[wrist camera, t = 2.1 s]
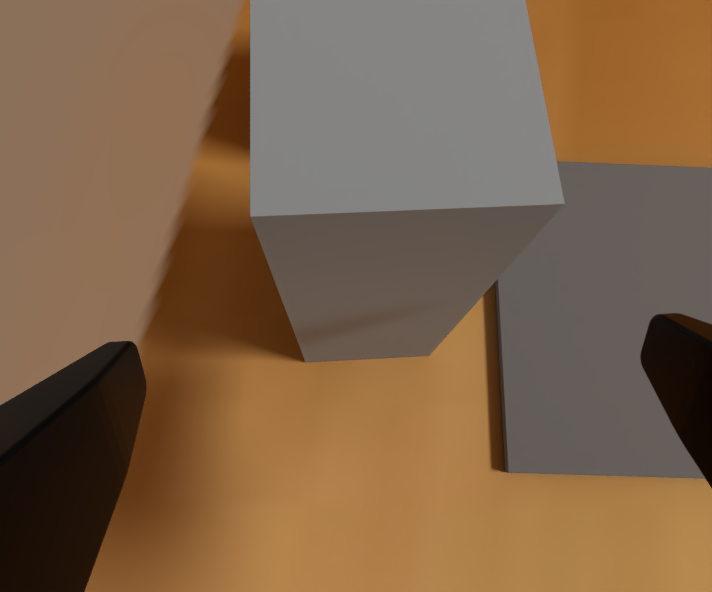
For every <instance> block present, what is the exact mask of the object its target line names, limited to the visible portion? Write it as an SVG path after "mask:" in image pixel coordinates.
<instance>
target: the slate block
mask: <svg viewBox="0 0 712 592" xmlns="http://www.w3.org/2000/svg"><path fill="white" fill-rule="evenodd" d="M564 204H565V203H564V197H563V192H562V187H561V182H560V177H559V172H558V166H557V161H556V156H555V151H554V146H553V141H552V135H551V130H550V125H549V120H548V115H547V110H546V105H545V99H544V94H543V89H542V84H541V79H540V74H539V68H538V63H537V58H536V53H535V48H534V43H533V37H532V32H531V27H530V22H529V17H528V12H527V6H526V1H525V0H250V218H251V220H252V223H253V226H254V228H255V231H256V234H257V236H258V239H259V241H260V244H261V247H262V249H263V252H264V255H265V257H266V260H267V263H268V265H269V268H270V270H271V273H272V276H273V278H274V281H275V284H276V286H277V289H278V291H279V294H280V297H281V299H282V302H283V305H284V307H285V310H286V312H287V315H288V318H289V320H290V323H291V326H292V328H293V331H294V333H295V336H296V339H297V341H298V344H299V347H300V349H301V352H302V354H303V357H304V360H305V362H321V361H340V360H359V359H378V358H397V357H416V356H429V355H430V354H431V353H432V352H433V351H434V350H435V349H436V347H437V346H438V345H439V344H440V343H441V342H442V341H443V340H444V338H445V337H446V336H447V335H448V334H449V333H450V332H451V331H452V330H453V328H454V327H455V326H456V325H457V324H458V323H459V322H460V321H461V319H462V318H463V317H464V316H465V315H466V314H467V313H468V312H469V311H470V309H471V308H472V307H473V306H474V305H475V304H476V303H477V302H478V300H479V299H480V298H481V297H482V296H483V295H484V294H485V293H486V291H487V290H488V289H489V288H490V287H491V286H492V285H493V284H494V283H495V281H496V280H497V279H498V278H499V277H500V276H501V275H502V274H503V272H504V271H505V270H506V269H507V268H508V267H509V266H510V265H511V264H512V262H513V261H514V260H515V259H516V258H517V257H518V256H519V255H520V253H521V252H522V251H523V250H524V249H525V248H526V247H527V246H528V244H529V243H530V242H531V241H532V240H533V239H534V238H535V237H536V236H537V234H538V233H539V232H540V231H541V230H542V229H543V228H544V227H545V225H546V224H547V223H548V222H549V221H550V220H551V219H552V218H553V217H554V215H555V214H556V213H557V212H558V211H559V210H560V209H561V208H562V206H563V205H564Z"/></svg>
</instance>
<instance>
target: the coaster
mask: <svg viewBox="0 0 712 592" xmlns="http://www.w3.org/2000/svg"><path fill="white" fill-rule="evenodd" d="M557 166H558V172H559V177H560V182H561V187H562V192H563V197H564V203H565V204H564V205H563V206H562V208H561V209H560V210H559V211H558V212H557V213H556V214H555V215H554V217H553V218H552V219H551V220H550V221H549V222H548V223H547V224H546V225H545V227H544V228H543V229H542V230H541V231H540V232H539V233H538V234H537V236H536V237H535V238H534V239H533V240H532V241H531V242H530V243H529V244H528V246H527V247H526V248H525V249H524V250H523V251H522V252H521V253H520V255H519V256H518V257H517V258H516V259H515V260H514V261H513V262H512V264H511V265H510V266H509V267H508V268H507V269H506V270H505V271H504V272H503V274H502V275H501V276H500V277H499V278H498V279H497V280H496V281H495V291H496V310H497V329H498V348H499V367H500V386H501V405H502V424H503V443H504V462H505V472H508V473H539V474H573V475H606V476H640V477H673V478H705V477H704V476H703V474H702V473H701V471H700V469H699V468H698V466H697V465H696V463H695V462H694V460H693V459H692V457H691V456H690V454H689V453H688V451H687V450H686V448H685V446H684V445H683V443H682V442H681V440H680V438H679V436H678V435H677V433H676V431H675V429H674V427H673V426H672V424H671V422H670V420H669V418H668V416H667V414H666V412H665V410H664V408H663V406H662V404H661V402H660V400H659V398H658V397H657V395H656V393H655V391H654V389H653V387H652V385H651V383H650V381H649V379H648V377H647V375H646V373H645V371H644V369H643V367H642V364H641V359H640V354H641V349H642V346H643V343H644V339H645V336H646V332H647V329H648V325H649V322H650V320H651V319H652V317H653V316H655V315H657V314H666V313H680V314H684V315H686V316H689V317H692V318H695V319H698V320H701V321H704V322H707V323H709V324H712V168H704V167H679V166H655V165H631V164H606V163H582V162H558V161H557Z"/></svg>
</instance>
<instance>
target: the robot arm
mask: <svg viewBox="0 0 712 592" xmlns="http://www.w3.org/2000/svg"><path fill="white" fill-rule="evenodd" d="M640 359H641V364H642V367H643V369H644V371H645V373H646V375H647V377H648V379H649V381H650V383H651V385H652V387H653V389H654V391H655V393H656V395H657V397H658V398H659V400H660V402H661V404H662V406H663V408H664V410H665V412H666V414H667V416H668V418H669V420H670V422H671V424H672V426H673V427H674V429H675V431H676V433H677V435H678V436H679V438H680V440H681V442H682V443H683V445H684V446H685V448H686V450H687V451H688V453H689V454H690V456H691V457H692V459H693V460H694V462H695V463H696V465H697V466H698V468H699V469H700V471H701V473H702V474H703V476H704V477H705V479H706V480H707V482H708V483H709V485H710V486H711V488H712V324H709V323H707V322H704V321H701V320H698V319H695V318H692V317H689V316H686V315H684V314H680V313H666V314H657V315H655V316H653V317H652V319H651V320H650V322H649V325H648V329H647V332H646V336H645V339H644V343H643V346H642V349H641V354H640ZM145 396H146V379H145V375H144V371H143V368H142V364H141V360H140V356H139V353H138V349H137V347H136V345H135V344H134V343H133V342H131V341H122V342H109V343H106V344H104V345H102V346H101V347H99V348H98V349H96V350H94V351H92V352H91V353H89V354H87V355H86V356H84V357H82V358H81V359H79V360H77V361H75V362H74V363H72V364H70V365H69V366H67V367H65V368H63V369H62V370H60V371H58V372H57V373H55V374H53V375H51V376H50V377H48V378H46V379H45V380H43V381H41V382H39V383H38V384H36V385H34V386H33V387H31V388H29V389H28V390H26V391H24V392H23V393H21V394H19V395H17V396H16V397H14V398H12V399H11V400H9V401H7V402H5V403H4V404H2V405H0V592H84V591H85V589H86V586H87V583H88V580H89V578H90V575H91V572H92V569H93V567H94V564H95V561H96V558H97V556H98V553H99V550H100V547H101V545H102V542H103V539H104V536H105V534H106V531H107V528H108V525H109V523H110V520H111V517H112V514H113V512H114V509H115V506H116V503H117V501H118V498H119V495H120V492H121V490H122V487H123V484H124V481H125V478H126V475H127V472H128V468H129V464H130V460H131V456H132V452H133V448H134V443H135V439H136V435H137V431H138V426H139V422H140V418H141V413H142V409H143V405H144V401H145Z"/></svg>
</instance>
